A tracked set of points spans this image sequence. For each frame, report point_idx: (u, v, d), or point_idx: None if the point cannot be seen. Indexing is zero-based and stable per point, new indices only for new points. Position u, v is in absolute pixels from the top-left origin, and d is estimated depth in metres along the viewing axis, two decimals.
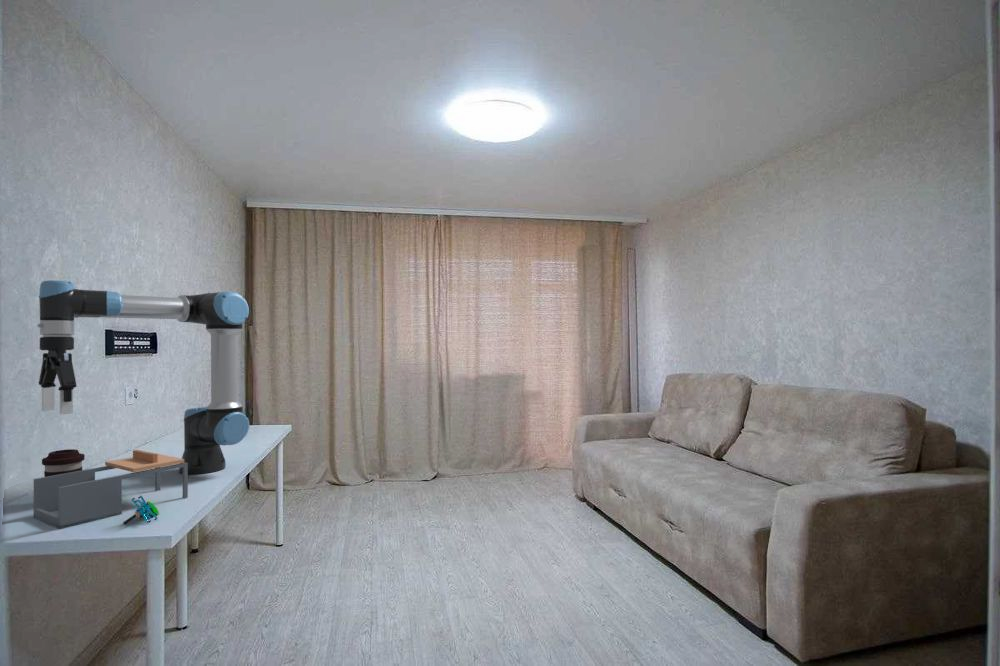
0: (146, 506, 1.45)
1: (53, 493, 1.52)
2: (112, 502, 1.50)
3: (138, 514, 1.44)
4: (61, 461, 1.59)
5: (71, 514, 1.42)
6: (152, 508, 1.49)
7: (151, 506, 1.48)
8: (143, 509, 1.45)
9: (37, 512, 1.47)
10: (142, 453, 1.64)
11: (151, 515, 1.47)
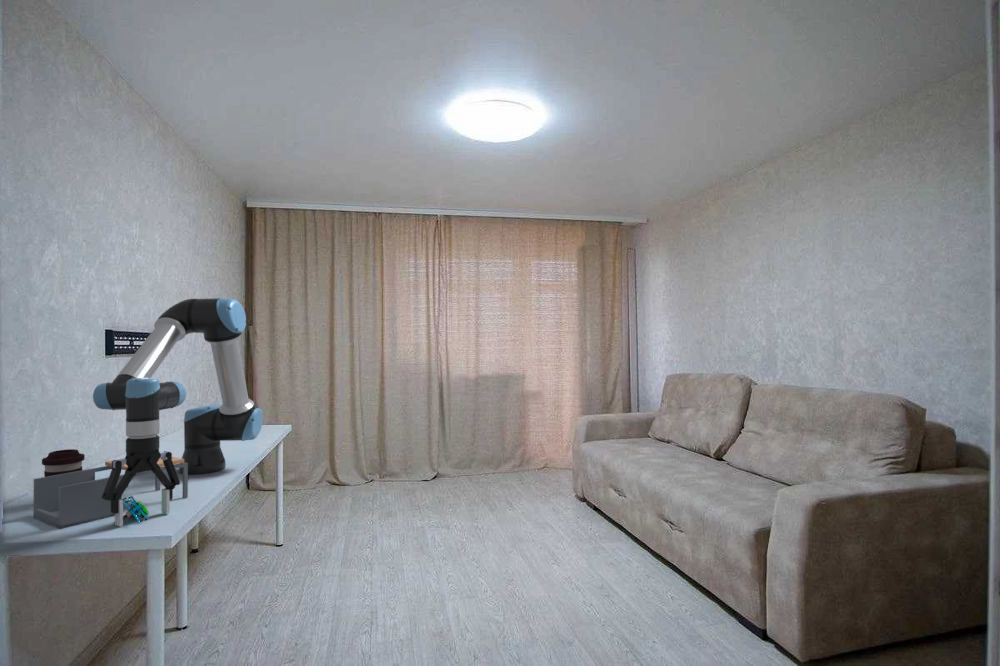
0: (137, 506, 1.45)
1: (53, 493, 1.52)
2: None
3: (129, 514, 1.44)
4: (61, 461, 1.59)
5: (71, 514, 1.42)
6: (142, 508, 1.49)
7: (141, 506, 1.48)
8: (134, 509, 1.45)
9: (37, 512, 1.47)
10: None
11: (142, 515, 1.47)
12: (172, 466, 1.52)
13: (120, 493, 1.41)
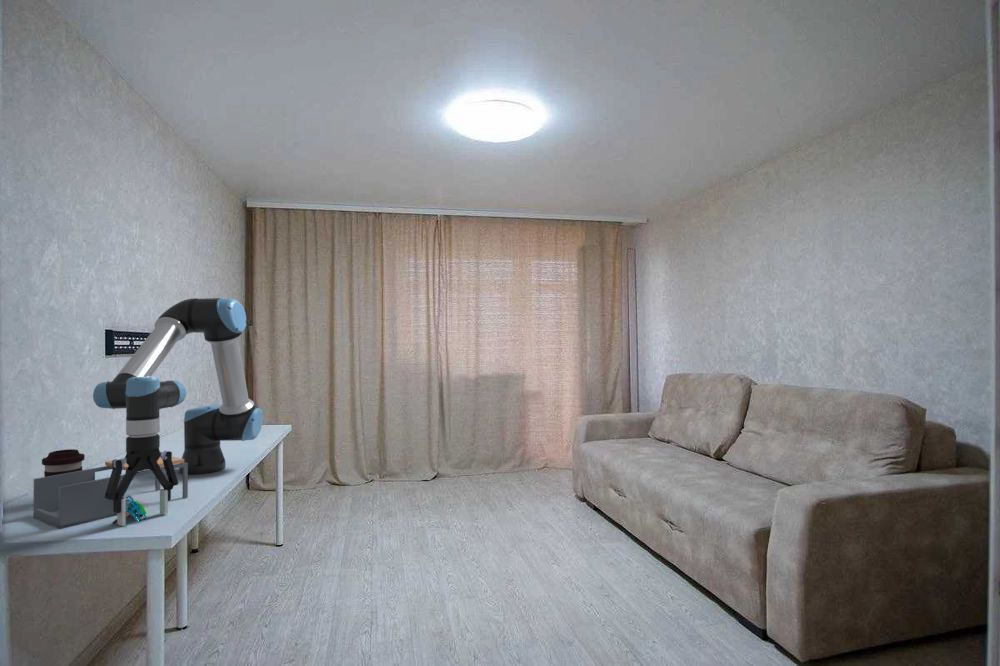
0: (136, 505, 1.45)
1: (53, 493, 1.52)
2: (112, 502, 1.50)
3: (128, 514, 1.44)
4: (61, 461, 1.59)
5: (71, 514, 1.42)
6: (140, 508, 1.50)
7: (140, 505, 1.48)
8: (133, 508, 1.45)
9: (37, 512, 1.47)
10: None
11: (140, 514, 1.48)
12: (171, 466, 1.52)
13: (122, 492, 1.41)
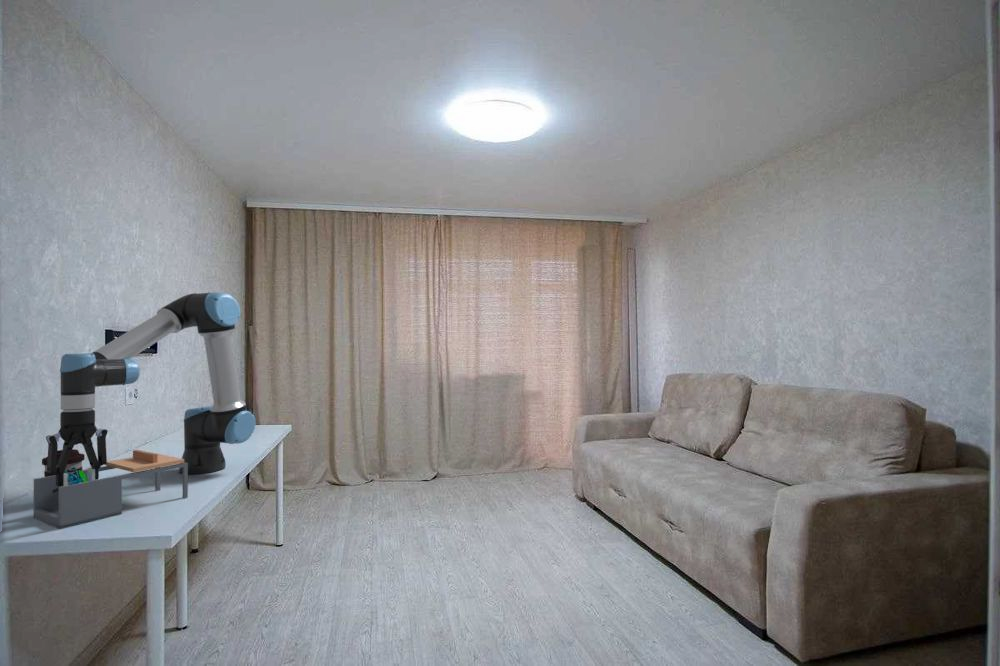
0: (78, 480, 1.50)
1: (53, 493, 1.52)
2: (112, 502, 1.50)
3: None
4: None
5: (71, 514, 1.42)
6: (82, 478, 1.55)
7: (82, 477, 1.53)
8: (75, 482, 1.50)
9: (37, 512, 1.47)
10: (142, 453, 1.64)
11: None
12: (104, 444, 1.55)
13: (63, 466, 1.46)
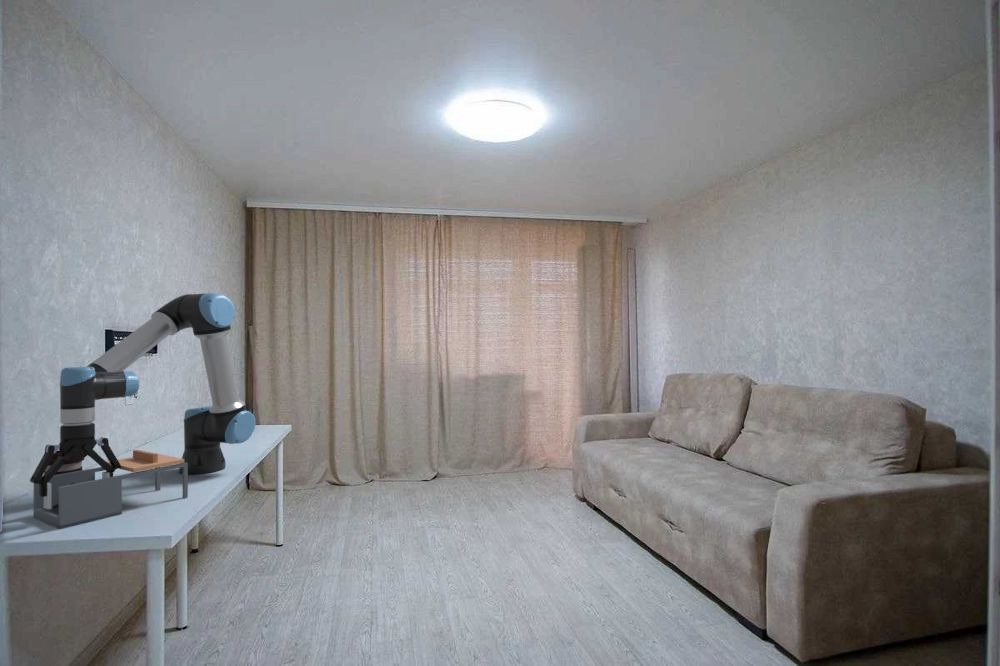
0: None
1: (53, 493, 1.52)
2: (112, 502, 1.50)
3: None
4: None
5: (71, 514, 1.42)
6: None
7: None
8: None
9: (37, 512, 1.47)
10: (142, 453, 1.64)
11: None
12: (110, 451, 1.56)
13: (49, 477, 1.44)
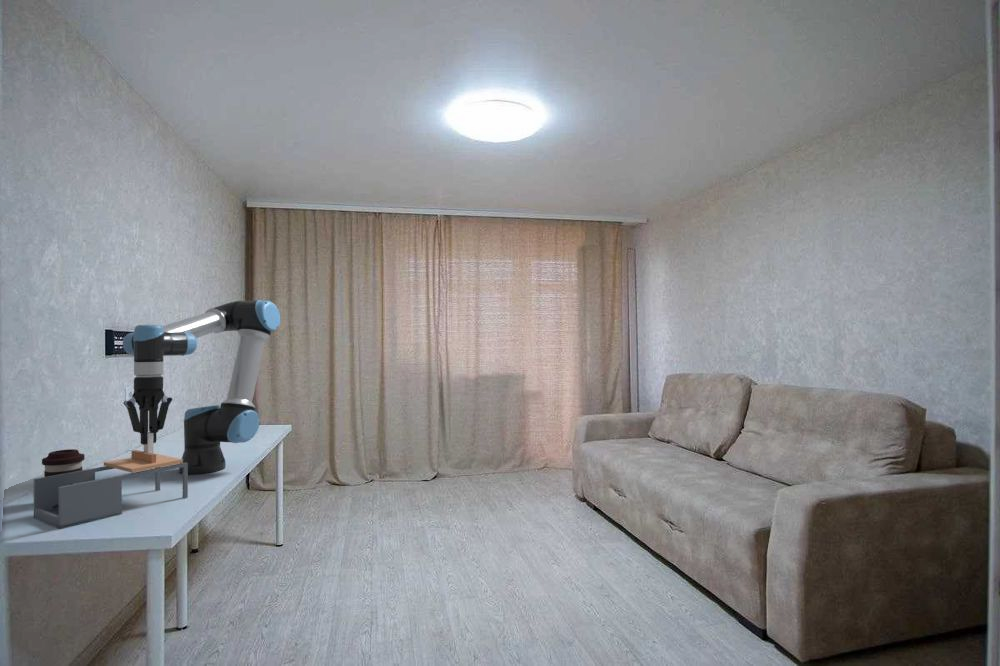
0: None
1: (53, 493, 1.52)
2: (112, 502, 1.50)
3: None
4: (61, 461, 1.59)
5: (71, 514, 1.42)
6: None
7: None
8: None
9: (37, 512, 1.47)
10: (141, 453, 1.64)
11: None
12: (166, 411, 1.69)
13: (146, 426, 1.64)
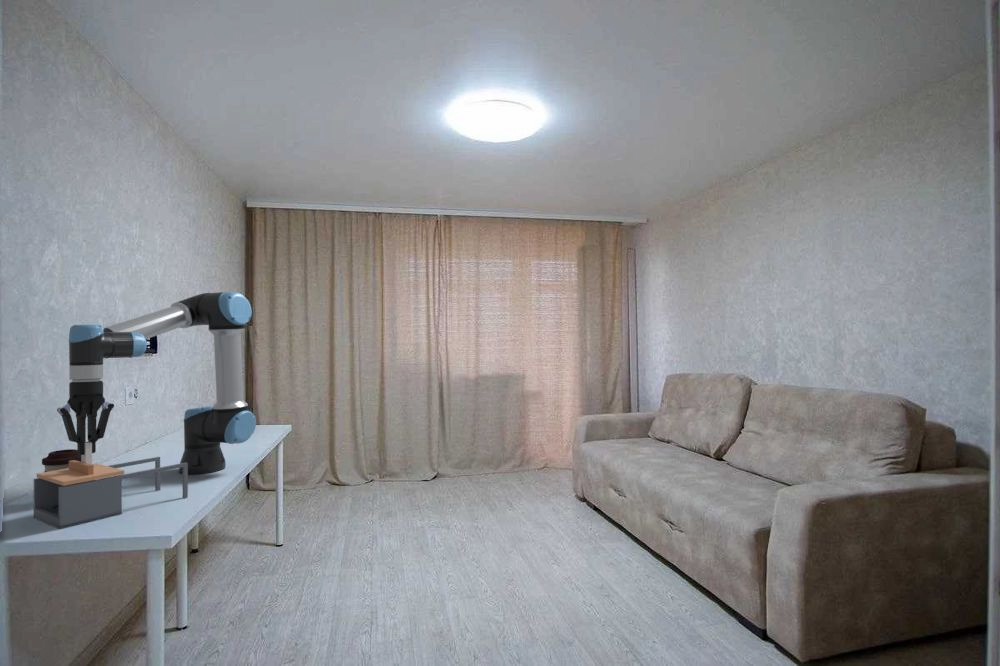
0: None
1: (53, 493, 1.52)
2: (112, 502, 1.50)
3: None
4: (61, 461, 1.59)
5: (71, 514, 1.42)
6: None
7: None
8: None
9: (37, 512, 1.47)
10: (78, 464, 1.50)
11: None
12: (106, 418, 1.55)
13: (83, 435, 1.50)
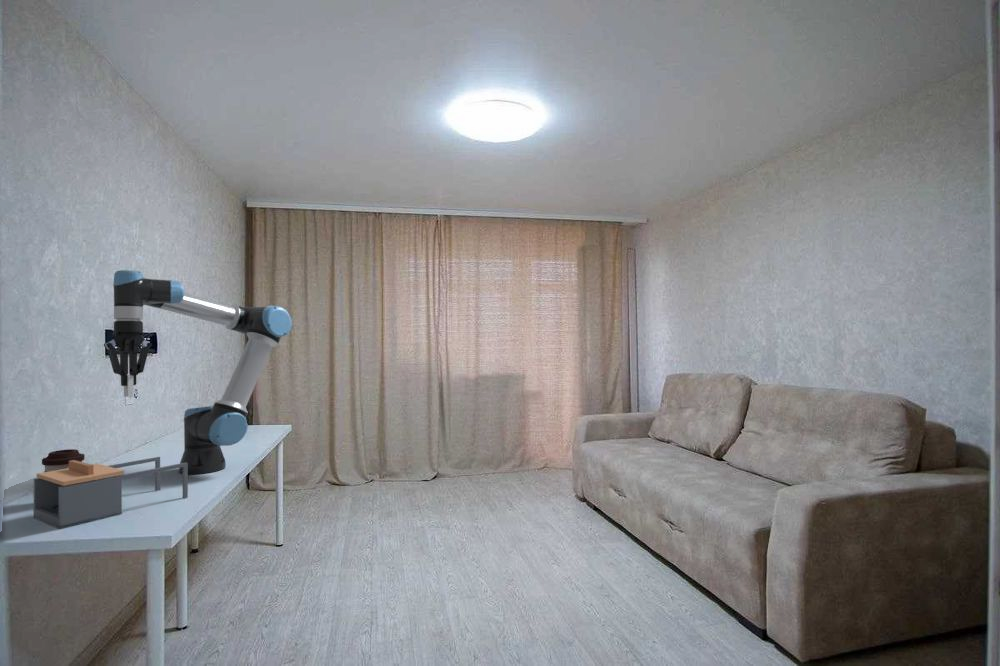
0: None
1: (53, 493, 1.52)
2: (112, 502, 1.50)
3: None
4: (61, 461, 1.59)
5: (71, 514, 1.42)
6: None
7: None
8: None
9: (37, 512, 1.47)
10: (78, 464, 1.50)
11: None
12: (145, 355, 1.74)
13: (126, 368, 1.69)
